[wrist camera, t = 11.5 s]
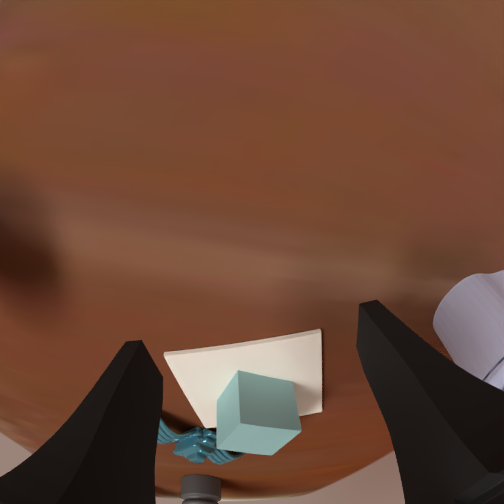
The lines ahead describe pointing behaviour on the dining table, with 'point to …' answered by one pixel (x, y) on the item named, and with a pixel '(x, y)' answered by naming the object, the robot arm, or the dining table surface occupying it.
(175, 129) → the dining table surface
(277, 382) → the teal cube
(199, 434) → the flying bird
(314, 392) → the mat
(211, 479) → the candle holder
